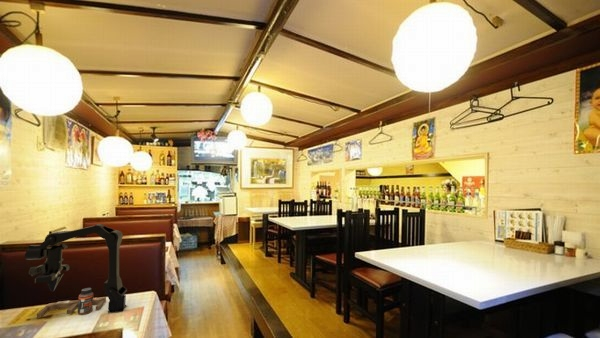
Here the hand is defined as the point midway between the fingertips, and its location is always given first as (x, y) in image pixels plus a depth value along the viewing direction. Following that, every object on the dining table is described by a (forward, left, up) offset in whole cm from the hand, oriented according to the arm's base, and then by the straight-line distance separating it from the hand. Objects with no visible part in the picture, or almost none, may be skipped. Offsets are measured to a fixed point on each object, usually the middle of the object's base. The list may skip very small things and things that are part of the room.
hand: (52, 290), depth 132 cm
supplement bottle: (-14, 0, -12) cm, 18 cm away
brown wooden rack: (-7, -5, -12) cm, 15 cm away
